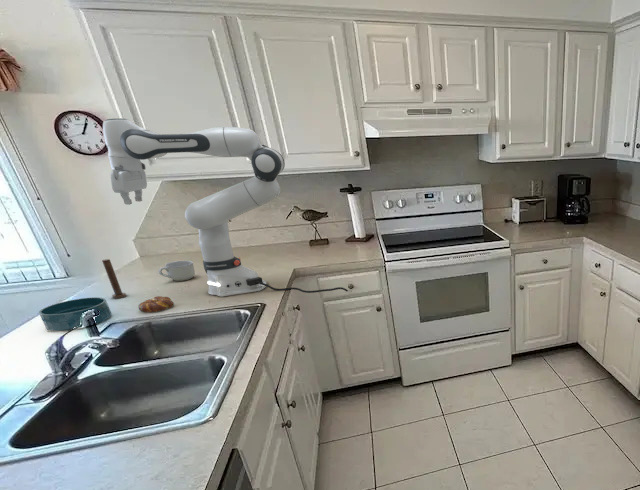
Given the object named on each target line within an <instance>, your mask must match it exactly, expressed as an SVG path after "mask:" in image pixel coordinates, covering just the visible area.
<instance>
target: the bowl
mask: <svg viewBox="0 0 640 490" xmlns="http://www.w3.org/2000/svg"><path fill="white" fill-rule="evenodd" d="M92 309H97V310H99V311H100V315H99V316H97V317H95V321H96V324H95V325H97V324H101V323H102V322H105V321H106V320H107V319H108V318H110V317H111V316H112V312H111V309H110V307H109V304H108V302H107V299H106V298H104V297H98V296H97V297H96V296H95V297H94V296H93V297H82V298H75V299H70V300H65V301H62V302H56V303H54V304H51V305H48V306H46V307H43V308H42V309H40V310H39V311H38V314H39V317H40V319H41V321H42V323H43V326H44V328H45V329H46V330H49V331H56V332H65V331H72V330H71V329H73V328H74V327H77V326H79V325H80V317H81V315H82V313H84V312H86V311H88V310H92Z"/></svg>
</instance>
